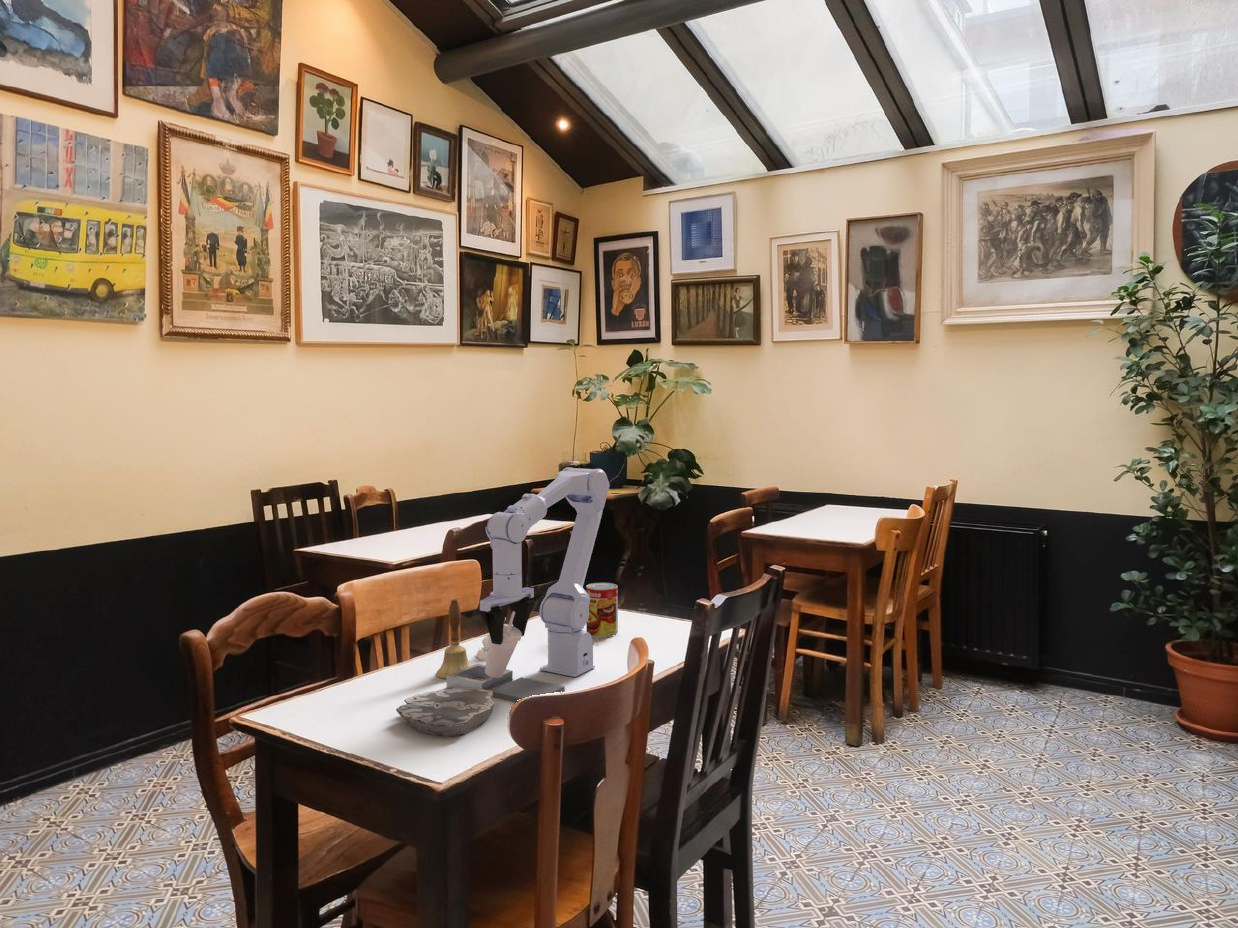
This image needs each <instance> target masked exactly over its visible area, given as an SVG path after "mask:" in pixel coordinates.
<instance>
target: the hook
mask: <svg viewBox="0 0 1238 928" xmlns="http://www.w3.org/2000/svg"><path fill="white" fill-rule="evenodd" d="M506 620H507V617H506V618H505V621H506ZM505 621H504V623H505ZM481 643H482V646H481V647H479V649H478V650H477V653H476V655H475V657H476V658H477V657H478V658H477V659H479V658H480V659H479V660H484V661H487V655H488V649H489V644H490V634H489V633H488V634H487V635H486V636H484V638H483V639H482V641H481ZM486 651H487V652H486Z"/></svg>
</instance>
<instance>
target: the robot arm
mask: <svg viewBox="0 0 1238 928" xmlns="http://www.w3.org/2000/svg"><path fill="white" fill-rule="evenodd" d="M610 485H611V484H610V482H609V479H608V476H607V474H606V472H605V471H604V470H603V469H601V468H594V469H593V468H579V467H578V468H576V467H575V468H574V467H570V466H569V467H568V466H567V467H565V468H563V469H562V470H561V471H559V472H557V475H556V478H555V479H554V480H553V481H552V482H550V483H549V484H548V485H547V486H546V487H545V488H543V489H542V490H541V491H540V492H538V493H537V494H535V493H524V494H523V495H522V496H521V499H519V500H518V501H517V502H516V503H514V504H513V505H511V504H510V505H509V506H508V507H507V509H505V510H504V511H503V512H502V511H498V512H495V513H493V514H492V515H491V516H490V517H489V519H488V520H487V524H486V525H487V526H485V533H486V536H487V538H488V539H489V544H490V545H489V546H490V548H491V549H492V590H493V591H492V592H489V596H487V597H485V598H484V599H481V600H479V614H480V615H481V617H482V619H483V621H484V622H485V625H486V627H487V630H488V634H490V638H491V641H492V643H493V644H498V645H500V644H502V641H503V627H504V624H505V622H504V621H506V620H505V618H506V619H507V614H508V611H507V610H502V608H501V607H503V606H506V605H509V606H508V607H509V608H510V612H511V614H512V612H513V611H515V615H514V618H513V621H512V626H513V627H515V628H517V629H519V630H520V631H521V633H522V636H521V637H524V636H525V633H526V629H527V624H528V621H529V618H530V615H531V613H532V611H533V609H534V607H535V606H536V601H535V599H532V598H534V597H535V589H534V587H528V586H526V587H523V571H522V570H523V569H522V568H523V567H522V564H523V563H522V561H523V560H522V556H523V555H522V542H523V541H524V540H525V539H526V537H527V535H528V532H529V531H530V530H531V528H532V527H533V526H535V524H537V523H538V522H540V521H541V520H542V519H543V518H545V517H546V515H547V512H548V508H550V507H551V506H553V505H554V504H556V503H558V502H559V501H561V500H563V499H564V498H565V499H566V500H567V502H568V503H569V504H570V506H572V508H574V509H575V511H576V513H577V514H576V517H575V521H574V524H573V528H572V531H571V536H570V539H569V542H568V546H567V549H566V550H567V551H566V554H565V557H564V561H563V564H562V567H561V571H560V575H559V579H558V581H557V582H556V583H554V584H552V585H551V586H550V587H548V589H547V591H546V594H545V597H544V598H543V599H542V601H541V603H540V606H539V618H540V619H541V621H542V622H543V623H544V627H545V628H546V629H547V664H546V665H545V664H544V665H542V666H541V667H539V670H540V671H543V672H549V673H554V674H559V675H564V676H569V677H573V678H576V677H578V676H580V675H582V674H585V673H586V672H588V671H590V670H593V669H595V668H596V666H595V665H594V640H593V636H591V634H590V633H588V632H586V631H585V630H584V628H585V626H586V623H587V621H588V618H589V603H590V597H589V595H588V594H587V593H586V590H585V589H584V584H585V579H586V576H587V572H588V568H589V564H590V561H591V558H592V557H591V556H592V553H593V549H594V546H595V541H596V538H597V535H598V531H599V528H600V524H601V519H602V516H603V512H604V511H603V510H604V508H605V505H606V501H607V496H608V493H609V490H610Z"/></svg>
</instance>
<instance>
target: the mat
mask: <svg viewBox="0 0 1238 928" xmlns="http://www.w3.org/2000/svg"><path fill="white" fill-rule="evenodd" d="M565 689H566V687H565V686H564V685H559V684H556V683H550V682H546V681H541V680H535V679H532V678H527V677H519V678H516V679H514V680H513V681H511V682H509V683H507V684H505V685H502V686H500V687H498V688H495V689H493V690H491V691H493V698H498V699H502V700H505V701H511V702H516V701H517V700H519V699H522V698H525V697H529V696H532V695H540V694H546V693H554V692H561V691H564V692H565V691H566V690H565ZM516 703H517V702H516Z"/></svg>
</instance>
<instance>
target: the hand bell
mask: <svg viewBox="0 0 1238 928" xmlns="http://www.w3.org/2000/svg"><path fill="white" fill-rule="evenodd" d="M461 617H462V613H461V608H460V605H459V601H458V599H455V598H454V599H451V601H450V605H449V607H448V622H449V625H450V637H451V638H450V646H447V648H445V649H444V655H443V660H442V664H441V666H440V667H439V668H438V669H437V671H436V673H435V675H436V677H437V678H439V679H445V680H446V676H447V675H449V674H452V673H454V672H457V671H460V670H462V669H465V668H467V667H470V666H472V665H471V663H470V662H469V660H468V655H467V649H466V647H464V646H463V645H460V638H459V637H460V632H459V631H460V629H459V627H460V624H461Z"/></svg>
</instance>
